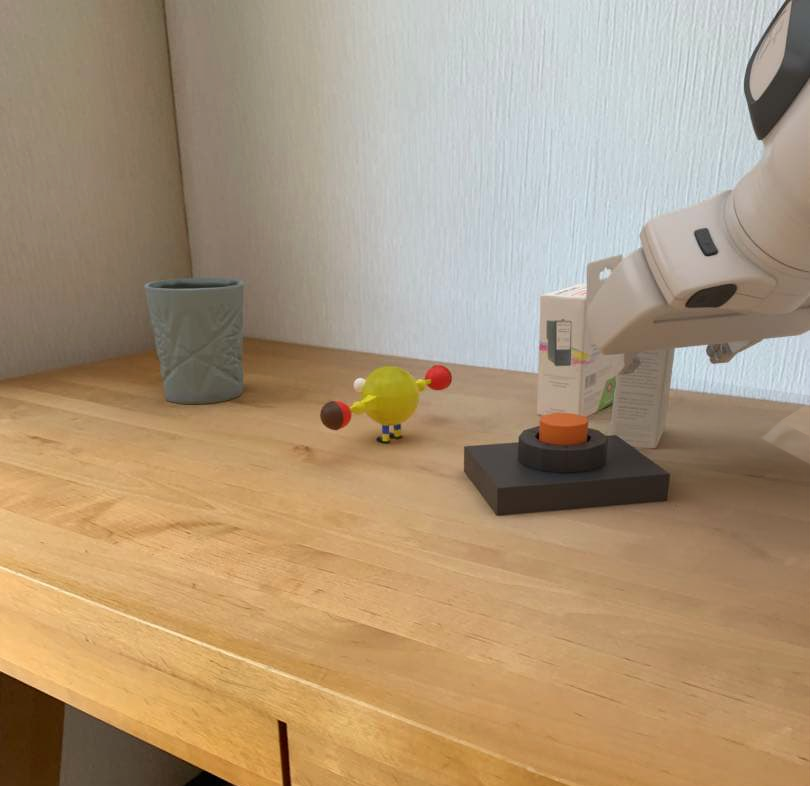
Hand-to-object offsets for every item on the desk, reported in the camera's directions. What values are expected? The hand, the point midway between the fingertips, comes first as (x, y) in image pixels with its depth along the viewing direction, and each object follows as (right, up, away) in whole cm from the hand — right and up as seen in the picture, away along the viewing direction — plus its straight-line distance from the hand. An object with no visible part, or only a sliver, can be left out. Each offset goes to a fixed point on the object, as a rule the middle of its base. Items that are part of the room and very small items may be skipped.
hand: (668, 361), depth 73 cm
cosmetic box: (-1, -6, +6) cm, 8 cm away
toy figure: (-23, -6, +7) cm, 25 cm away
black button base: (-10, -11, -5) cm, 16 cm away
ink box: (-5, -2, +15) cm, 16 cm away
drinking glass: (-44, +1, +24) cm, 50 cm away
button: (-10, -7, -7) cm, 14 cm away
